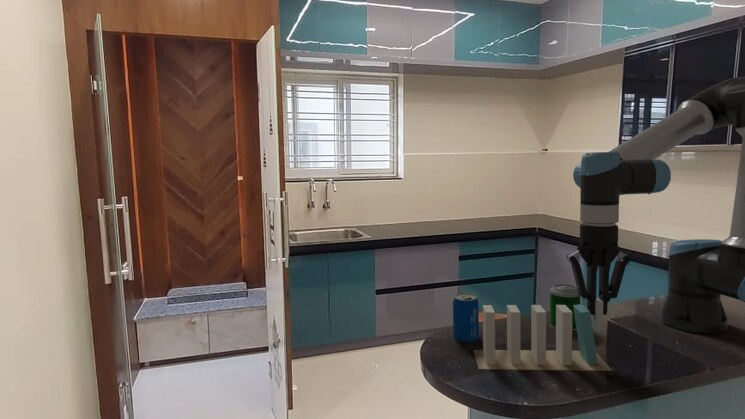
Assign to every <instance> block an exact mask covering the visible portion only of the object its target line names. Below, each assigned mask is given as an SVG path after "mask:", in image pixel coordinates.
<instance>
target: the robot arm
mask: <svg viewBox="0 0 745 419" xmlns="http://www.w3.org/2000/svg"><path fill="white" fill-rule="evenodd" d="M728 126H735V131H736V133H738V134H739V136H741V137H742V139H741V140H742V141H741V148H740V154H739V155H740V157H739V163H738V170H737V171H738V172H737V176H736V177H737V178H736V187H735V192H734V193H735V194H734V199H733V200H734V201H733V209H732V216H731V223H730V224H731V225H730V231H729V236H728V237H726V239H724V240H720V239H709V238H708V239H707V238H705V239H704V238H703V239H681V240H675V241H673V242H671V243H670V246H669V252H668V269H667V270H668V271H667V272H668V273H667V275H668V279H667V280H668V284H667V295H666V296H665V298H664V302H663V304H662V306H661V308H660V311H659V320H660V322H662V323H663V324H664V325H667V326H668V327H671V328H674V329H677V330H681V331H686V332H691V333H699V334H720V333H725V332H726V331H728V328H729V327H728V326H729V320H728V316H727V314H726V312H725V309H724V308H725V307H724V305H723V303H722V297H721V296H724V297H728V298H731V299H735V300H739V301H741V302H743V303H745V75H744V76H739V77H738V76H737V77H732V78H728V79H725V80H723V81H719V82H718V83H715V84H714V85H712V86H709V87H708V88H706V89H704V90H702V91H700V92H699V93H697V94H695V95H693V96H692V97H690V98H688V99H687V100H685V101H683V102H681V103H680V104H679V106H678V108H677V110H676V111H674V112H672V113H670V114H669V115H667V116H666V117H664V118H663V119H662V120H659V121H658V122H656V123H654V124H652V125H651V126H649V127H647V128H646V129H644V130H642V131H641V132H639V133H637V134H635V135H634V136H632V137H630V138H629V139H628V140H626V141H624V142H622V143H621V144H619V145H617V146H616V147H614V148H613V149H611V150H609V151H604V152H603V151H598V152H597V151H596V152H586V153H584V154H583V155H582V157H581V161H580V162H578V163H577V164H576V165H575V167H574V169H573V173H572V177H573V182H574V184H575V185H576V186H577V187H579V188H580V191H579V192H580V193H579V194H580V196H579V197H580V198H579V199H580V200H579V201H580V202H579V203H580V206H579V207H580V208H579V210H580V211H579V212H580V213H579V221H580V222H581V224H580V225H579V244H578V246H577V249H576V251H575V252H573V253H568V254H567V255H566V259H567V260H568V262H569V263H570V265H571V270H572V272H573V277H574V278H573V279H574V281H575V286H576V287H577V290H578V294H579V295H580V298H581V297H582V299H586V306H587V307H586V308H587V309H588V310H589V311H590V313H591V320H592V327H593V331H594V330H595V331H598V332H602V331H603V330H604V328H603V327H604V315H605V316H606V315H607V314H608V305H609V304H608V303H609V302H611V300H612V299H617V298H618V295H619V291H620V287H621V283H622V281H623V278H624V275H625V274H624V273H625V270H626V267H627V266H628V264H629V263H630V261H631V259H632V257H631V256H630V255H628V254H626V253H624V252H622V251H621V249H620V246H619V244H618V243H619V226H618V225H617V223H618V222H620V218H619V215H620V196H623V195H645V194H647V195H651V194H657V193H661V192H663V191H665V190H666V189H667V188H668V186H669V185H670V184H671V180H672V179H671V178H672V172H671V168H670V167H669V165H668V163H667V162H665V161H664V160H662V159H658V158H659V157H661V156H663V155H664V154H666V153H667V152H669V151H670V150H672V149H674V148H676V147H677V146H679V145H681V144H682V143H684V142H686V141H687V140H688V139H691V138H692V137H694V136H695V135H700V136H701V135H705V134H707V133H709V132H711V131H712V130H714V129H717V128H718V129H719V128H722V127H728ZM581 258H582V259H583V261H584V262H585V263H586V265H585V266H586V284H585V279H584V274H583V270H582V266H581V264H580V262H581ZM614 260H616V261H615V264H614V267H613V269H612V270H613V271H612V273H611V276H610V271H611V264H612V262H613V261H614ZM597 274H598V277H597ZM597 278H598V282H597ZM597 283H598V284H597ZM597 285H598V297H597Z"/></svg>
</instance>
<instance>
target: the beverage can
mask: <svg viewBox="0 0 745 419" xmlns="http://www.w3.org/2000/svg"><path fill="white" fill-rule="evenodd" d="M477 298H478V296H477V295H475V294H473V293H465V292H463V293H457V294H455V295H454V297H453V299H452V322H453V323H452V324H453V325H452V326H453V339H454V340H456V341H458V342H462V343H473V342H474V343H475V342H476V341H478V340H479V339H480V329H479V328H480V321H479V319H480V318H479V317H480V316H479V314H480V313H479V310H480V309H479V300H478V299H477Z"/></svg>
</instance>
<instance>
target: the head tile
mask: <svg viewBox="0 0 745 419" xmlns="http://www.w3.org/2000/svg"><path fill="white" fill-rule="evenodd" d="M573 308H574V315H575V322H576V328H577V330H576V333H577V342H578V348H579V351H580V355H581V357H582V358H583V359H584V360H585V362H586V363H587V364H588V365H593V364H598V362H597V355H596V353H597V350H596V343H595V335H594V329H593V327H592V320H591V313H590V311H589V310H588V309H587V307H586V306H585V305H584V304H582V303H580V304H579V305H573Z"/></svg>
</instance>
